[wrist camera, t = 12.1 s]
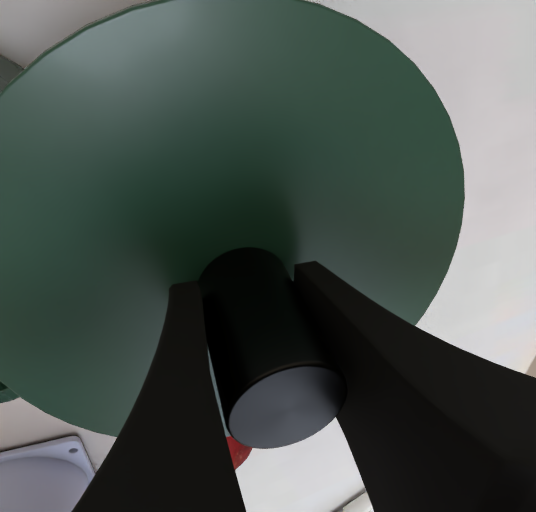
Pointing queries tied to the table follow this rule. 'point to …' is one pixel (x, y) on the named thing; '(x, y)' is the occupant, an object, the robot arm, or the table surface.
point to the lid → (214, 204)
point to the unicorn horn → (359, 504)
